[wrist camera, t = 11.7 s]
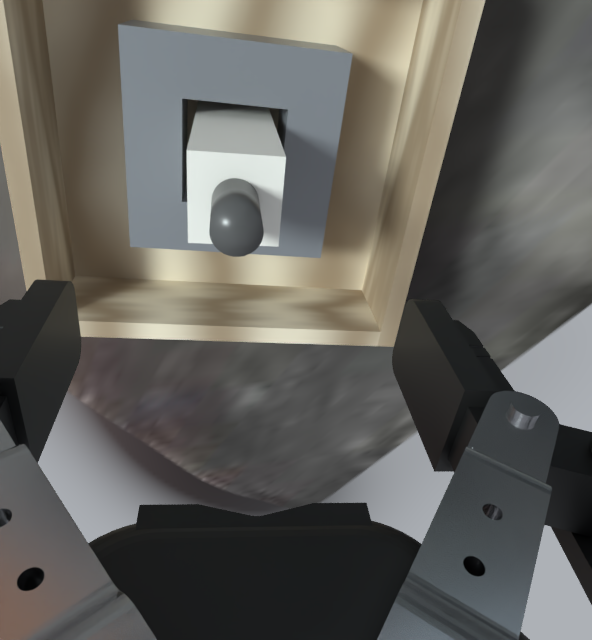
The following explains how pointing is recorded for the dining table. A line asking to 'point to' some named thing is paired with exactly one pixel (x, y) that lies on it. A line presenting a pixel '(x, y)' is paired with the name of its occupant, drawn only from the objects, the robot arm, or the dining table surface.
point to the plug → (234, 178)
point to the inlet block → (235, 88)
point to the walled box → (109, 150)
